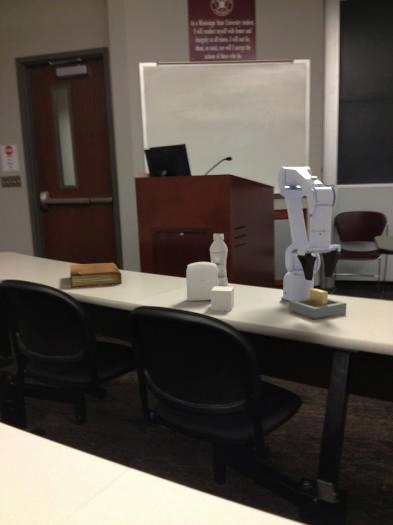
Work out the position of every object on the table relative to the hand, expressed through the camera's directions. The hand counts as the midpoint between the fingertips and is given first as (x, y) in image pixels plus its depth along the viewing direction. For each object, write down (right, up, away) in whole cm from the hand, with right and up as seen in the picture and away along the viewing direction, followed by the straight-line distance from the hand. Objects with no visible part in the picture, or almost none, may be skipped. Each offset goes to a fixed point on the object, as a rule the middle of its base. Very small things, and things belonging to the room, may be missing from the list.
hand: (318, 278), depth 125 cm
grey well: (0, -10, +1) cm, 10 cm away
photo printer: (-33, -8, +18) cm, 38 cm away
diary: (-75, -3, +53) cm, 92 cm away
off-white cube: (-27, -9, +8) cm, 29 cm away
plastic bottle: (-27, -6, +32) cm, 42 cm away
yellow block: (0, -9, +1) cm, 9 cm away
